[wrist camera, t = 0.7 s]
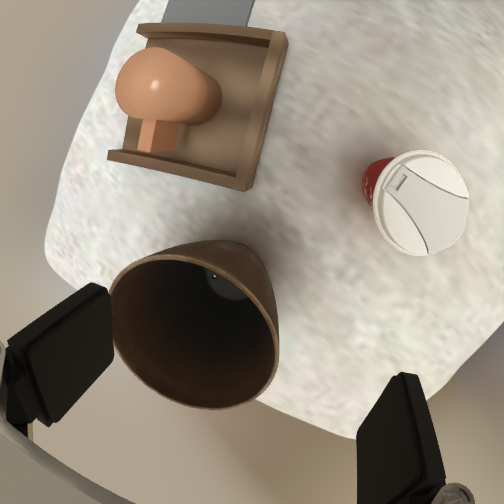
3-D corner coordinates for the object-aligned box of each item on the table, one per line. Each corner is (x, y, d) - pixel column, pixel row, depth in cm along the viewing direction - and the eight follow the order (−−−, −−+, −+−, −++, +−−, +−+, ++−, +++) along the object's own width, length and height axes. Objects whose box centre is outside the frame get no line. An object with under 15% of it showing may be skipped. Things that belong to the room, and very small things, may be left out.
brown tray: (152, 32, 30) (138, 23, 26) (288, 43, 28) (284, 32, 24) (123, 157, 36) (107, 159, 33) (251, 188, 34) (244, 192, 31)
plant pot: (238, 183, 34) (178, 210, 19) (321, 282, 36) (319, 369, 21) (157, 259, 39) (81, 317, 25) (231, 340, 41) (191, 426, 26)
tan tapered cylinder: (177, 70, 31) (125, 47, 20) (228, 76, 30) (189, 48, 20) (160, 144, 34) (103, 146, 24) (209, 154, 33) (163, 158, 23)
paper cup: (338, 191, 32) (353, 218, 19) (377, 135, 29) (417, 126, 16) (392, 232, 32) (433, 283, 19) (430, 180, 29) (493, 200, 16)
